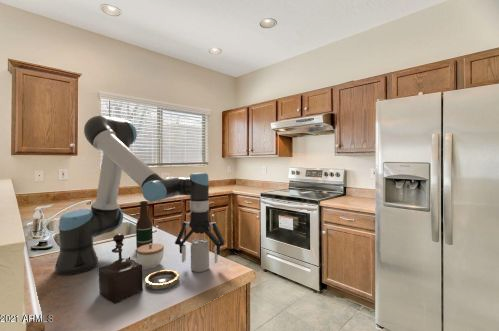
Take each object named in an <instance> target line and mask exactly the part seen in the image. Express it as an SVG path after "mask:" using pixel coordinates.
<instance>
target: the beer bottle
mask: <svg viewBox="0 0 499 331" xmlns="http://www.w3.org/2000/svg"><path fill="white" fill-rule="evenodd" d="M139 204H140V206H139V208H140V209H139V211H140V212H139V217H138V219H137V221H136V224H135V225H136V226H135V229H136V230H135V233H136V234H135V235H136V236H135V239H136V240H135V241H136V242H135V243H136V250H137V249H138V248H139V247H140V246H143V245H147V244H154V243H153V222H152V220H151V218H150V217H149V211H148V210H149V209H148V204H149V201H148V200H142V201H140V202H139Z"/></svg>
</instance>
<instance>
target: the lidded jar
mask: <svg viewBox="0 0 499 331" xmlns="http://www.w3.org/2000/svg"><path fill="white" fill-rule="evenodd" d="M164 249H165V248H164V244H161V243H153V244H147V245H143V246H140V247H139V248H138V249H137V248H136V254H137V255H136V256H137V257H136V258H137V261H138V263H139V264H141V265H142V268H144V269H155V268H156V267H158V266H159V264H160V263H161V262H162V260H163V257H164Z"/></svg>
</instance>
